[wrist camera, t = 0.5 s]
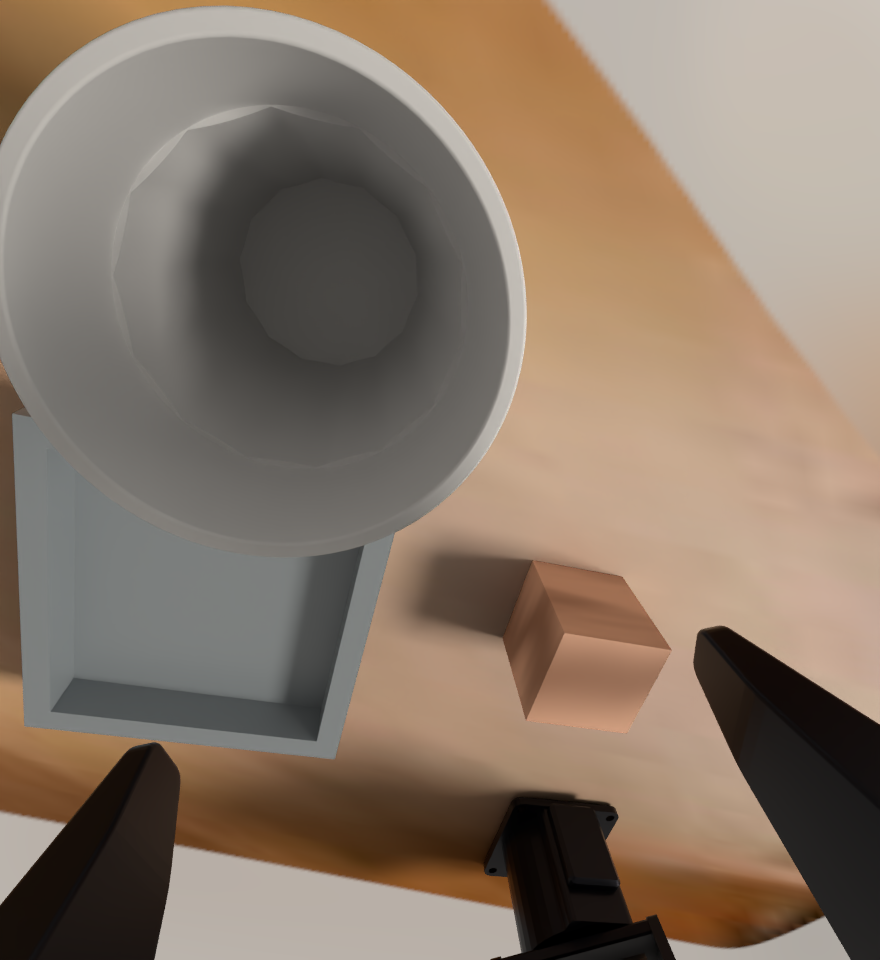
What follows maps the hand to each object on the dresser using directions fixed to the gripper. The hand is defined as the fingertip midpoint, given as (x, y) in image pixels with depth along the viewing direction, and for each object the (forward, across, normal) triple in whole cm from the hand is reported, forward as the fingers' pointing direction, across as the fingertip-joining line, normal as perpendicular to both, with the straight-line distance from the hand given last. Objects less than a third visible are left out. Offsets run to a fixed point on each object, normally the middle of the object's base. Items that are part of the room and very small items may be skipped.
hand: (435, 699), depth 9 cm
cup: (+15, +1, -4) cm, 15 cm away
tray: (+13, +9, +7) cm, 18 cm away
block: (+12, -6, +12) cm, 18 cm away
